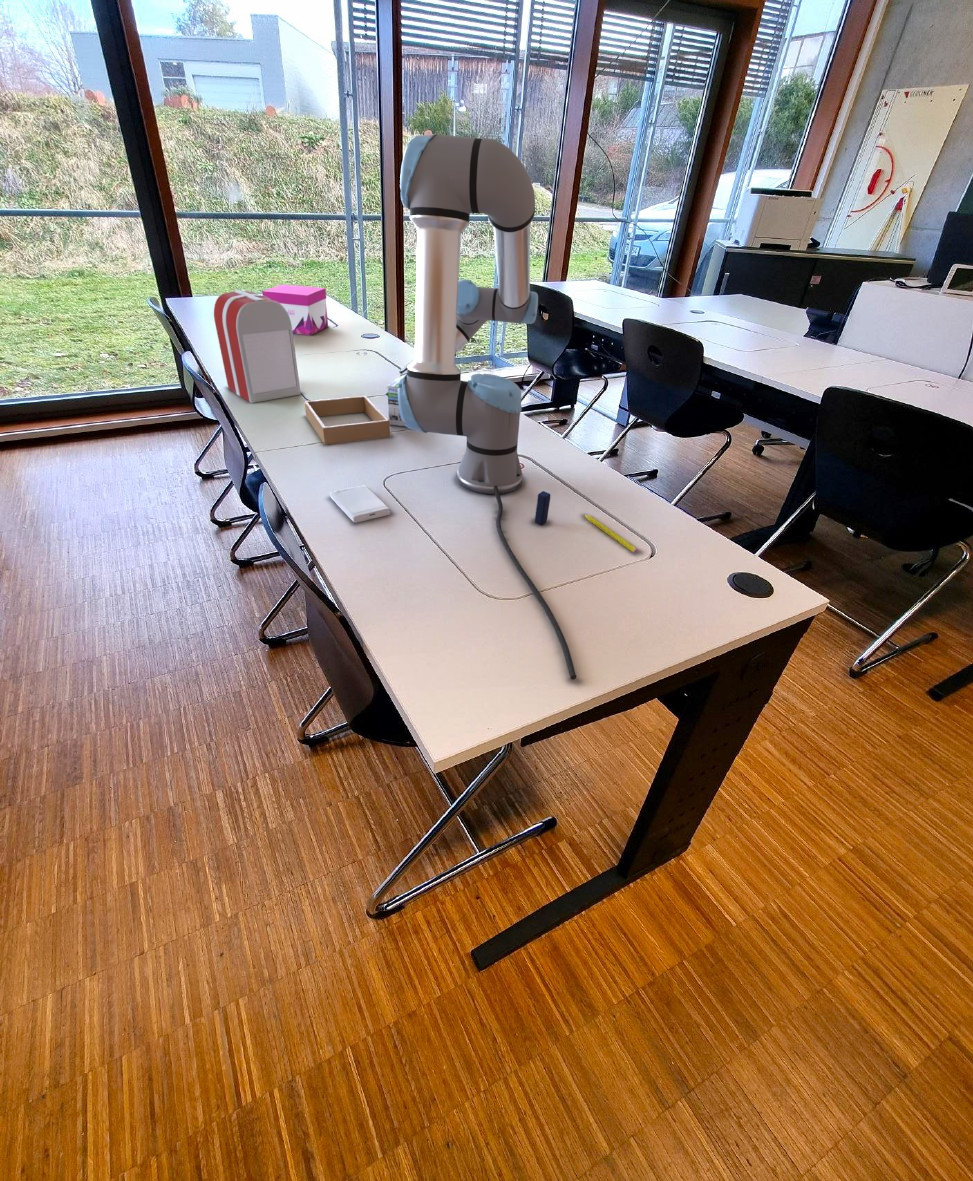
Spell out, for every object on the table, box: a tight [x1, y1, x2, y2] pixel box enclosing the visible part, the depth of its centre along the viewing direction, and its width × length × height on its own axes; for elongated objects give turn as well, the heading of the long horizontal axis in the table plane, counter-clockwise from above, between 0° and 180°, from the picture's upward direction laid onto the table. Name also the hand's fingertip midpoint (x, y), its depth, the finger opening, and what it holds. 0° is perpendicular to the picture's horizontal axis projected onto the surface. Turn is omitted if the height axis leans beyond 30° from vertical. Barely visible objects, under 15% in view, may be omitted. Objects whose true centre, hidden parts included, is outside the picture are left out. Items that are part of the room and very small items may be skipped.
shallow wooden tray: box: [303, 395, 391, 446], centre depth 159 cm, size 22×18×4 cm
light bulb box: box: [386, 375, 407, 428], centre depth 164 cm, size 11×7×11 cm, turn 169°
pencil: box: [584, 514, 639, 554], centre depth 120 cm, size 16×1×1 cm, turn 30°
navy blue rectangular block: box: [534, 490, 551, 526], centre depth 120 cm, size 2×2×7 cm
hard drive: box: [329, 484, 391, 524], centre depth 123 cm, size 2×8×12 cm
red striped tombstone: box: [213, 289, 302, 404], centre depth 173 cm, size 17×18×27 cm
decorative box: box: [261, 283, 329, 336], centre depth 245 cm, size 19×19×15 cm
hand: (396, 404), depth 163 cm, fingers closed on light bulb box, 12 cm apart
